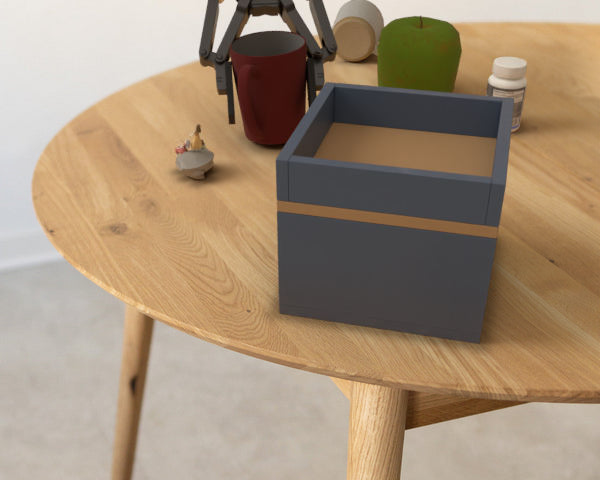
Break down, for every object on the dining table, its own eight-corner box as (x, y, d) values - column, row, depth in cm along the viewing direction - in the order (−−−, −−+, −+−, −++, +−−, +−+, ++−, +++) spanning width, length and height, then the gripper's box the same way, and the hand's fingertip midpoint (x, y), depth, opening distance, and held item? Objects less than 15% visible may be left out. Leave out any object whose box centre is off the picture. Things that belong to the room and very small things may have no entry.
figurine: (204, 186, 86) (200, 135, 83) (168, 180, 88) (162, 130, 84) (222, 166, 91) (219, 117, 87) (188, 161, 92) (183, 112, 88)
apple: (373, 108, 105) (377, 26, 98) (376, 80, 113) (380, 3, 107) (457, 112, 103) (467, 29, 97) (454, 83, 112) (463, 5, 106)
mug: (285, 163, 89) (278, 69, 83) (216, 155, 92) (203, 63, 86) (321, 121, 98) (317, 33, 92) (256, 114, 101) (248, 28, 94)
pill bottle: (485, 117, 102) (494, 53, 97) (522, 122, 101) (533, 57, 96) (478, 130, 99) (487, 65, 94) (515, 136, 97) (527, 70, 92)
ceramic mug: (327, 62, 119) (329, 11, 115) (335, 46, 126) (337, -4, 121) (397, 67, 118) (401, 15, 113) (401, 50, 124) (405, 0, 120)
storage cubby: (491, 239, 77) (514, 98, 69) (479, 344, 64) (506, 184, 55) (323, 218, 81) (326, 81, 72) (279, 313, 67) (275, 159, 59)
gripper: (345, -44, 99) (360, 126, 95) (173, -38, 97) (182, 134, 93) (352, -82, 91) (369, 100, 87) (166, -77, 90) (176, 108, 86)
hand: (272, 117), depth 90 cm, fingers closed on mug, 9 cm apart
